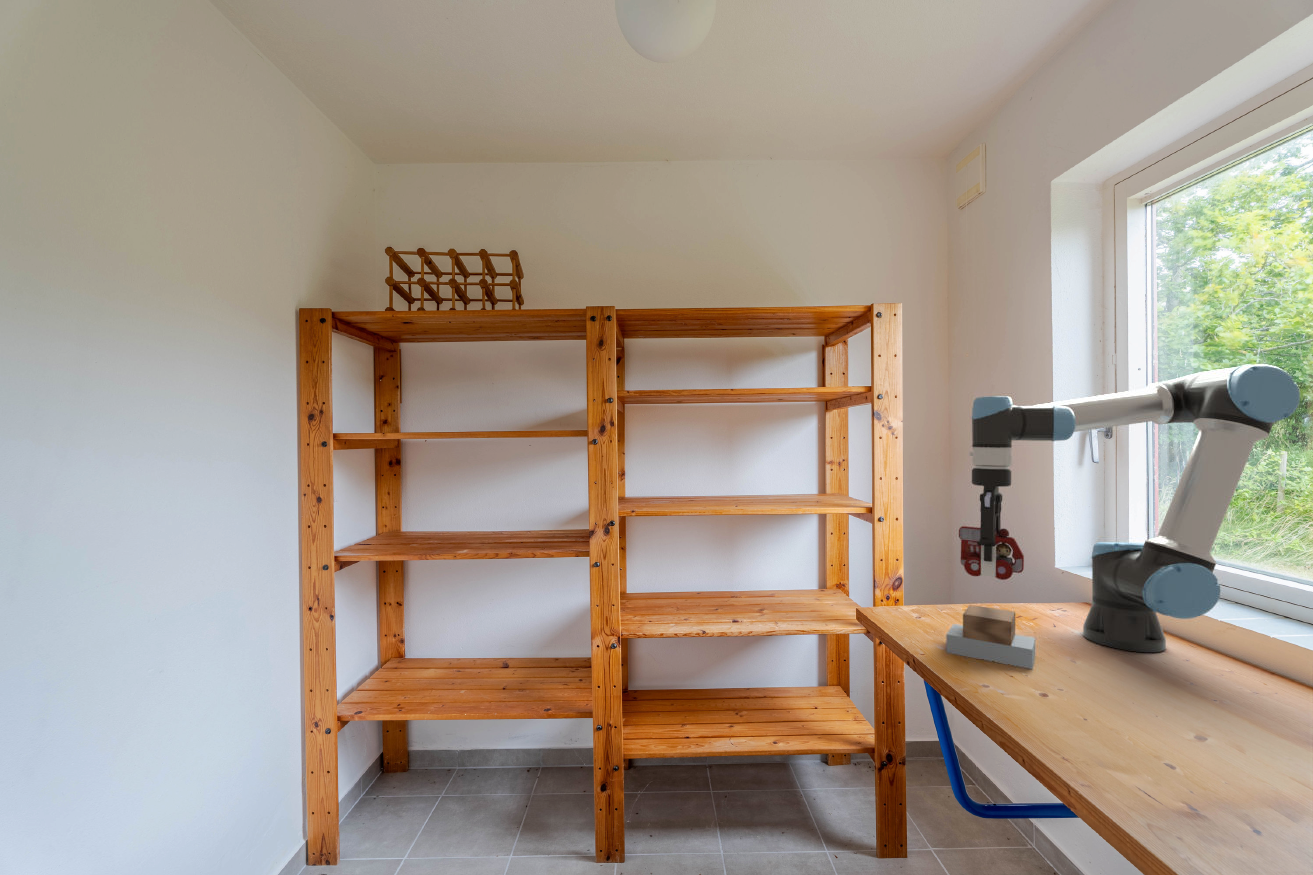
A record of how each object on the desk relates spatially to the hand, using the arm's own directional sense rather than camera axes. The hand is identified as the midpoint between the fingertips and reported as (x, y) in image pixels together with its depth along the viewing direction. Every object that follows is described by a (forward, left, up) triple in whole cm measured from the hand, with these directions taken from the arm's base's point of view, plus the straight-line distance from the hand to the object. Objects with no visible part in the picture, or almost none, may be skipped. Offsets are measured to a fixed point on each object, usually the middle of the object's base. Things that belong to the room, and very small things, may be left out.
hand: (990, 572), depth 129 cm
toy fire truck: (0, 0, -1) cm, 1 cm away
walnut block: (0, 0, -14) cm, 14 cm away
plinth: (0, 0, -18) cm, 18 cm away
